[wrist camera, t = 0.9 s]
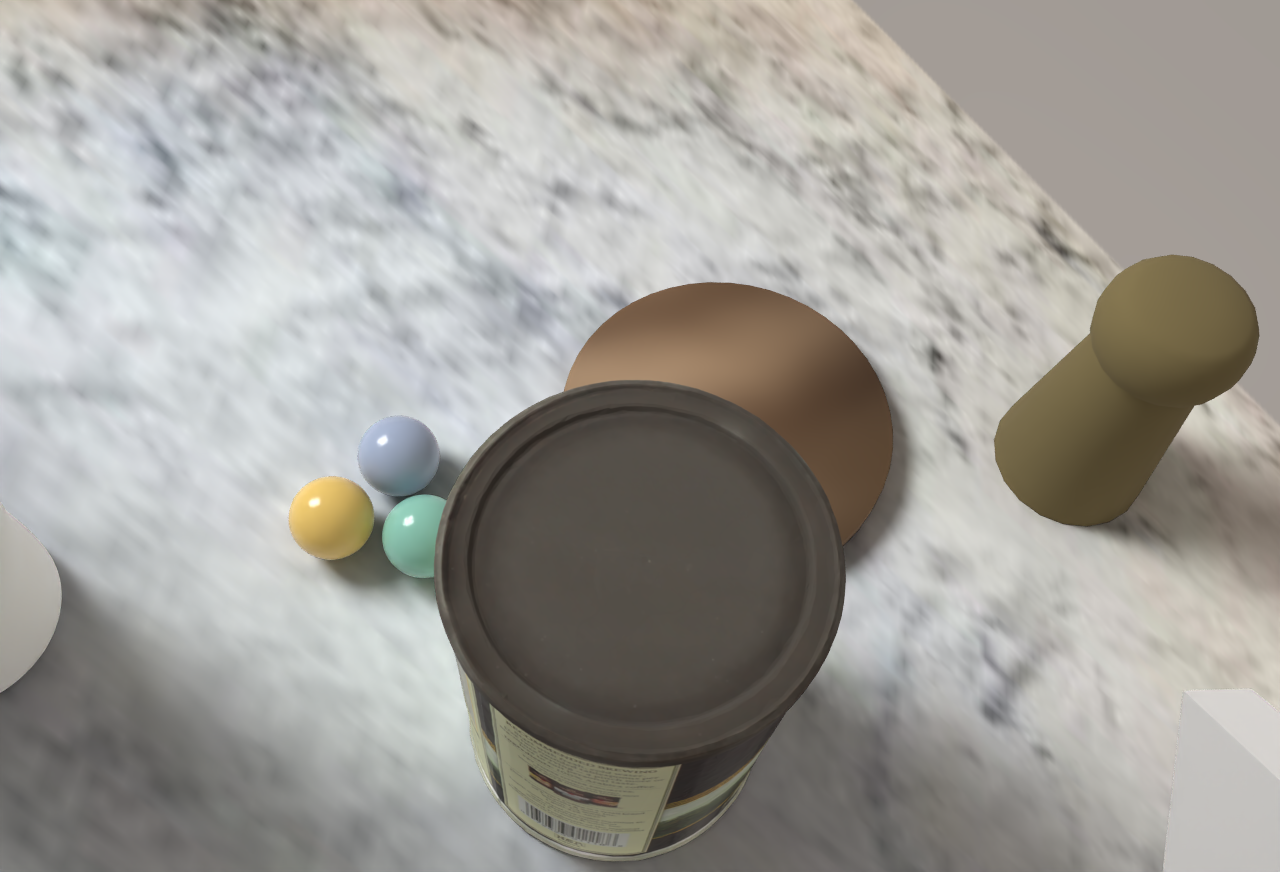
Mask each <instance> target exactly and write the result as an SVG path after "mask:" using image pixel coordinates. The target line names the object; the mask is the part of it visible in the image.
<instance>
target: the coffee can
mask: <svg viewBox="0 0 1280 872" xmlns="http://www.w3.org/2000/svg"><path fill="white" fill-rule="evenodd" d="M845 583H846V573H845V560H844V552H843V546H842V541H841V536H840V532H839V528H838V524H837V520H836V518H835V516H834V513H833V510H832V508H831V505H830V502H829V499H828V497H827V495H826V494H825V492H824V490H823V488H822V486H821V484H820V483H819V481H818V480H817V478H816V477H815V475H814V473H813V472H812V470H811V469H810V467H809V466H808V465H807V463H806V462H805V461H804V459H803V458H802V457H801V456H800V455H799V453H798V452H797V451H796V450H795V449H794V448H793V447H792V446H791V445H790V444H789V443H788V442H787V441H786V440H785V439H784V438H783V437H782V436H780V435H779V434H778V433H777V432H776V431H775V430H774V429H773V428H771V427H770V426H769V425H768V424H766V423H765V422H764V421H763V420H761V419H760V418H759V417H757V416H755V415H754V414H752V413H750V412H749V411H747V410H745V409H743V408H742V407H740V406H738V405H736V404H734V403H732V402H730V401H728V400H725V399H723V398H721V397H719V396H716V395H714V394H711V393H708V392H705V391H702V390H700V389H697V388H693V387H689V386H684V385H680V384H675V383H670V382H662V381H653V380H616V381H607V382H601V383H595V384H590V385H585V386H581V387H577V388H573V389H570V390H567V391H565V392H562V393H559V394H556V395H554V396H551V397H548V398H546V399H544V400H542V401H540V402H538V403H536V404H534V405H532V406H531V407H529V408H527V409H526V410H524V411H522V412H521V413H519V414H518V415H516V416H515V417H513V418H512V419H510V420H509V421H508V422H506V423H505V424H504V425H503V426H502V427H500V428H499V429H498V430H497V431H496V432H495V433H493V434H492V435H491V436H490V437H489V438H488V439H487V440H486V441H485V442H484V444H483V445H482V446H481V447H480V448H479V449H478V450H477V451H476V452H475V453H474V455H473V456H472V457H471V458H470V460H469V461H468V463H467V464H466V466H465V467H464V469H463V471H462V472H461V474H460V475H459V477H458V478H457V480H456V482H455V484H454V486H453V488H452V490H451V492H450V494H449V496H448V499H447V501H446V504H445V506H444V509H443V512H442V516H441V520H440V523H439V528H438V532H437V537H436V544H435V556H434V584H435V592H436V599H437V604H438V609H439V613H440V617H441V620H442V623H443V626H444V629H445V632H446V634H447V637H448V639H449V641H450V644H451V646H452V648H453V650H454V653H455V656H456V661H457V665H458V669H459V674H460V679H461V684H462V689H463V693H464V698H465V702H466V706H467V709H468V714H469V719H470V736H471V741H472V745H473V749H474V753H475V758H476V762H477V764H478V767H479V769H480V772H481V774H482V777H483V779H484V781H485V783H486V785H487V787H488V788H489V790H490V792H491V793H492V795H493V796H494V798H495V799H496V801H497V802H498V803H499V805H500V806H501V807H502V808H503V810H504V811H505V812H506V813H507V814H508V815H509V816H510V817H511V818H512V819H513V820H514V821H515V822H516V823H517V824H518V825H519V826H521V827H522V828H523V829H524V831H525V832H527V833H529V834H531V835H532V836H534V837H535V838H537V839H538V840H540V841H542V842H544V843H546V844H548V845H549V846H551V847H554V848H556V849H558V850H561V851H563V852H566V853H568V854H572V855H575V856H579V857H583V858H588V859H593V860H601V861H631V860H643V859H647V858H651V857H654V856H657V855H660V854H663V853H667V852H669V851H672V850H674V849H676V848H678V847H680V846H682V845H684V844H686V843H688V842H690V841H691V840H693V839H694V838H696V837H697V836H699V835H700V834H702V833H703V832H705V831H706V830H707V829H708V828H709V827H711V826H712V825H713V824H714V823H715V822H716V821H717V820H718V819H719V818H720V817H721V816H722V815H723V814H724V813H725V811H726V810H727V809H728V808H729V807H730V806H731V804H732V803H733V802H734V801H735V800H736V798H737V796H738V795H739V793H740V791H741V790H742V788H743V786H744V784H745V782H746V780H747V778H748V775H749V773H750V770H751V768H752V766H753V765H754V763H755V761H756V760H757V758H758V756H759V754H760V753H761V751H762V749H763V748H764V746H765V745H766V743H767V741H768V740H769V738H770V737H771V735H772V733H773V732H774V730H775V729H776V727H777V725H778V724H779V722H780V721H781V719H782V718H783V716H784V715H785V713H786V712H787V711H788V710H789V709H790V708H791V707H792V705H793V704H794V703H795V702H796V701H797V700H798V698H799V697H800V696H801V695H802V694H803V693H804V691H805V690H806V689H807V687H808V686H809V684H810V683H811V682H812V680H813V679H814V677H815V676H816V675H817V673H818V671H819V669H820V668H821V666H822V664H823V662H824V661H825V659H826V657H827V655H828V653H829V651H830V648H831V646H832V643H833V641H834V639H835V636H836V633H837V630H838V627H839V623H840V620H841V616H842V611H843V605H844V596H845Z"/></svg>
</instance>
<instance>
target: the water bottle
mask: <svg viewBox="0 0 1280 872" xmlns="http://www.w3.org/2000/svg"><path fill="white" fill-rule="evenodd" d="M61 603H62V589H61V582H60V577H59V574H58V570H57V568H56V565H55V563H54V561H53V559H52V557H51V556H50V554H49V553H48V551H47V550H46V548H45V547H44V546H43V545H42V543H41V542H40V541H39V540H38V539H37V538H36V537H35V536H34V535H33V534H32V533H31V532H30V531H29V530H28V529H27V528H26V527H25V526H24V525H23V524H22V523H21V522H20V521H19V520H17V519H16V518H15V517H14V516H12V515H11V514H10V513H8V512H7V511H6V510H5V508H4V506H3V505H2V503H1V502H0V693H1V692H2V691H4V690H5V689H7V688H8V687H10V686H11V685H12V684H14V683H15V682H16V681H18V680H19V679H20V678H21V677H22V676H23V675H24V674H25V673H26V672H27V671H28V670H29V669H30V668H31V667H32V666H33V665H34V664H35V663H36V661H37V660H38V659H39V658H40V656H41V655H42V654H43V652H44V651H45V649H46V647H47V646H48V644H49V642H50V640H51V638H52V636H53V634H54V631H55V629H56V626H57V623H58V620H59V615H60V610H61Z"/></svg>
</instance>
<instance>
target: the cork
mask: <svg viewBox="0 0 1280 872" xmlns="http://www.w3.org/2000/svg"><path fill="white" fill-rule="evenodd" d="M1258 339H1259V327H1258V321H1257V316H1256V311H1255V307H1254V305H1253V304H1252V302H1251V300H1250V298H1249V296H1248V295H1247V293H1246V291H1245V290H1244V289H1243V288H1242V287H1241V286H1240V285H1239V284H1238V283H1237V282H1236V281H1235V280H1234V279H1233V278H1232V276H1230V275H1229V274H1227V273H1226V272H1224V271H1222V270H1221V269H1219V268H1218V267H1216V266H1215V265H1213V264H1210V263H1208V262H1205V261H1202V260H1199V259H1197V258H1194V257H1188V256H1179V255H1167V256H1161V257H1155V258H1150V259H1145V260H1142V261H1140V262H1138V263H1136V264H1134V265H1132V266H1130V267H1128V268H1127V269H1125V270H1124V271H1122V272H1121V273H1120V274H1118V275H1117V276H1116V277H1115V278H1114V279H1113V280H1112V282H1111V283H1110V284H1109V285H1108V286H1107V288H1106V289H1105V290H1104V292H1103V293H1102V295H1101V296H1100V298H1099V299H1098V301H1097V305H1096V308H1095V312H1094V315H1093V319H1092V323H1091V327H1090V334H1089V335H1088V336H1087V337H1086V338H1084V339H1083V340H1082V341H1081V342H1080V343H1079V344H1078V345H1077V346H1076V347H1075V348H1074V349H1073V350H1072V351H1071V352H1069V353H1068V354H1067V355H1066V356H1065V357H1064V358H1063V359H1062V360H1061V361H1060V362H1059V363H1058V364H1057V365H1056V366H1055V367H1053V368H1052V369H1051V370H1050V371H1049V372H1048V373H1047V374H1046V375H1045V376H1044V377H1043V378H1042V379H1041V380H1040V381H1039V382H1037V383H1036V384H1035V385H1034V386H1033V387H1032V388H1031V389H1030V390H1029V391H1028V392H1027V393H1026V394H1025V395H1024V396H1022V397H1021V398H1020V399H1019V400H1018V401H1017V402H1016V403H1015V404H1014V405H1013V406H1012V407H1011V408H1010V409H1009V411H1008V412H1007V413H1006V414H1005V415H1004V417H1003V418H1002V419H1001V420H1000V423H999V426H998V429H997V432H996V435H995V439H994V443H995V458H996V462H997V465H998V467H999V470H1000V472H1001V474H1002V477H1003V479H1004V481H1005V483H1006V484H1007V485H1008V486H1009V488H1010V489H1011V490H1012V491H1013V493H1014V494H1015V495H1016V496H1017V497H1018V499H1019V500H1020V501H1022V502H1023V503H1024V504H1026V505H1027V506H1029V507H1030V508H1031V509H1033V510H1034V511H1035V512H1037V513H1038V514H1039V515H1042V516H1044V517H1047V518H1049V519H1052V520H1055V521H1057V522H1060V523H1062V524H1069V525H1079V526H1091V525H1096V524H1101V523H1106V522H1110V521H1111V520H1113V519H1115V518H1116V517H1118V516H1120V515H1121V514H1123V513H1124V512H1126V511H1127V510H1128V509H1129V507H1130V506H1131V505H1132V503H1133V502H1134V500H1135V499H1136V498H1137V496H1138V495H1139V493H1140V492H1141V490H1142V489H1143V487H1144V485H1145V484H1146V482H1147V481H1148V479H1149V477H1150V476H1151V474H1152V473H1153V471H1154V469H1155V468H1156V466H1157V465H1158V463H1159V461H1160V460H1161V458H1162V457H1163V455H1164V453H1165V452H1166V450H1167V449H1168V447H1169V445H1170V444H1171V442H1172V441H1173V439H1174V437H1175V436H1176V434H1177V433H1178V431H1179V429H1180V428H1181V426H1182V425H1183V423H1184V421H1185V420H1186V418H1187V417H1188V415H1189V413H1190V412H1191V410H1192V409H1193V407H1194V406H1195V405H1200V404H1203V403H1205V402H1208V401H1210V400H1212V399H1214V398H1215V397H1217V396H1219V395H1221V394H1222V393H1224V392H1226V391H1227V390H1229V389H1231V388H1232V387H1233V386H1234V385H1235V384H1236V383H1237V382H1238V381H1239V380H1240V379H1241V377H1242V376H1243V374H1244V373H1245V372H1246V370H1247V369H1248V368H1249V366H1250V365H1251V363H1252V361H1253V358H1254V356H1255V354H1256V349H1257V345H1258Z"/></svg>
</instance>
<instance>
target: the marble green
mask: <svg viewBox="0 0 1280 872" xmlns="http://www.w3.org/2000/svg"><path fill="white" fill-rule="evenodd" d="M446 501H447V500H445V499H443V498H441V497H438V496H434V495H416V496H412V497H409V498H407V499H405V500H403V501H402V502H400V503H399V504H397V505H396V506H395V507H394V508H393V509H392V511H391V512H390V513H389V515H388V516H387V518H386V520H385V523H384V526H383V531H382V543H383V548H384V551H385V553H386V555H387V557H388V559H389V560H390V562H391V563H392V564H393V565H394V566H395V567H396V568H397V569H398V570H400V571H401V572H403V573H404V574H407V575H409V576H412V577H416V578H432V577H434V556H435V544H436V537H437V532H438V528H439V523H440V520H441V516H442V512H443V509H444V506H445V504H446Z"/></svg>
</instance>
